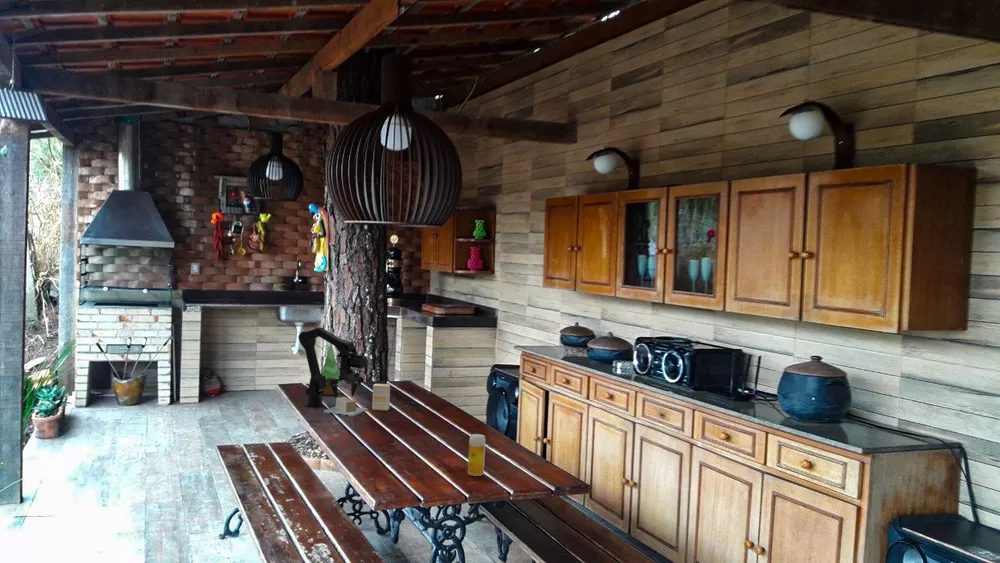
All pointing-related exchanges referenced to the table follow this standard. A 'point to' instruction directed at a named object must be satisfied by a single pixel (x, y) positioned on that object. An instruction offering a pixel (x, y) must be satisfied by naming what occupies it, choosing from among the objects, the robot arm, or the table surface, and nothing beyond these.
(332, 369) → the decorative tree
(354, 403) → the tan block
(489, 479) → the table surface
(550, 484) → the table surface
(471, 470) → the beer glass
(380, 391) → the supplement box
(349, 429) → the table surface
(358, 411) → the slate mat
